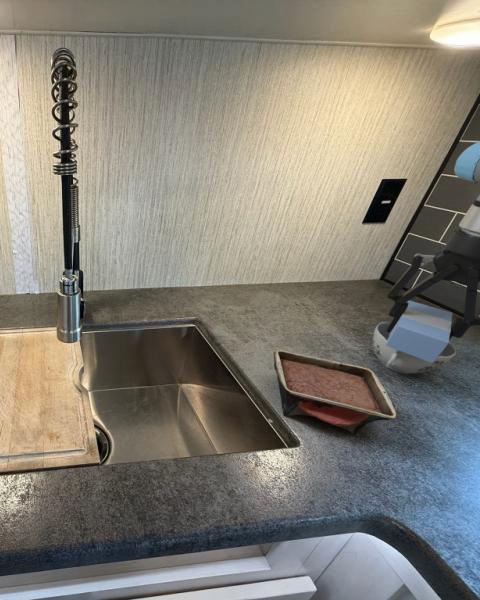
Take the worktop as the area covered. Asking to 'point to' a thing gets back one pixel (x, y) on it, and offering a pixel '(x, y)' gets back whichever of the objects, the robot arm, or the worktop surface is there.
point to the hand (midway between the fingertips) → (413, 337)
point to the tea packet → (421, 331)
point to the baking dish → (331, 391)
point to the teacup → (405, 354)
